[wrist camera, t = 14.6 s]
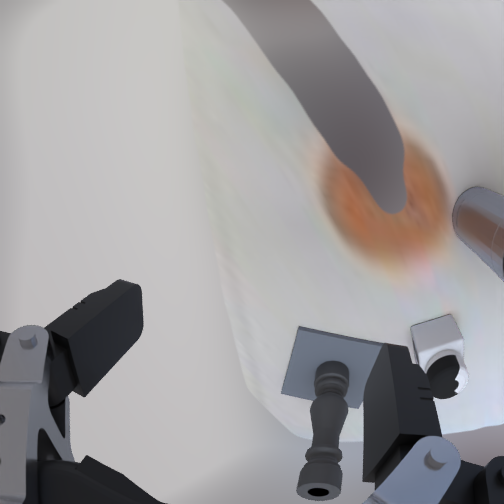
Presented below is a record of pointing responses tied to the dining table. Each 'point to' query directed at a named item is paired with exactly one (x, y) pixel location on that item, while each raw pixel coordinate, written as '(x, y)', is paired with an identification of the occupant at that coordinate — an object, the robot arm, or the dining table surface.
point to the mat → (328, 349)
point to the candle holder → (325, 434)
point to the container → (441, 355)
